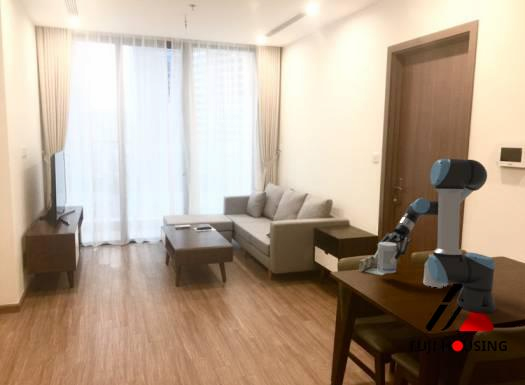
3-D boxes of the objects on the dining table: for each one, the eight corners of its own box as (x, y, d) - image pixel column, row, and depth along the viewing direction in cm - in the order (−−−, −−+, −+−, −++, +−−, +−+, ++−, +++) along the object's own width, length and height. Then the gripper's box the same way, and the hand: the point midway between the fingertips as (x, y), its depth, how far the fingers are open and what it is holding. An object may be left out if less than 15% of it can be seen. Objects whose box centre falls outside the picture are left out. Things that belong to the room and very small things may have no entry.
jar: (437, 289, 207) (440, 259, 206) (420, 283, 215) (422, 255, 213) (450, 285, 214) (452, 256, 213) (432, 279, 222) (434, 252, 220)
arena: (382, 276, 224) (382, 266, 224) (358, 271, 233) (359, 260, 232) (393, 271, 235) (393, 260, 235) (370, 266, 244) (371, 255, 243)
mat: (381, 275, 226) (381, 275, 226) (364, 271, 233) (364, 271, 233) (389, 271, 234) (389, 271, 234) (372, 267, 240) (372, 267, 240)
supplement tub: (399, 271, 220) (401, 244, 219) (390, 275, 214) (391, 246, 212) (382, 267, 227) (384, 240, 226) (373, 270, 221) (374, 243, 219)
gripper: (425, 236, 219) (404, 270, 211) (389, 229, 237) (369, 260, 229) (419, 227, 215) (398, 261, 207) (384, 220, 233) (363, 251, 225)
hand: (383, 260), depth 218 cm, fingers closed on supplement tub, 9 cm apart
